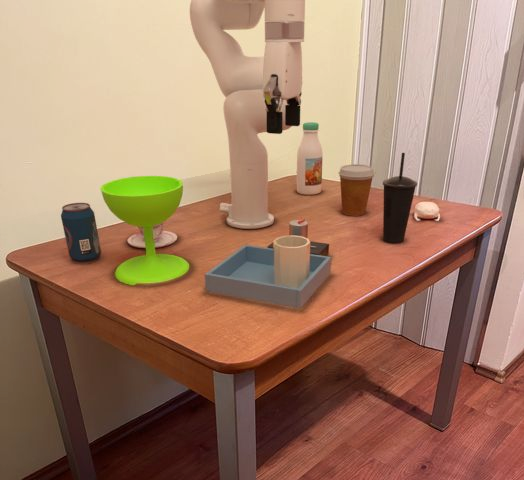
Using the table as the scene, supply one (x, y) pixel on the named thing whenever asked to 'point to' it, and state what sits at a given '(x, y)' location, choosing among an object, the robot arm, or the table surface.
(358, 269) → the table surface
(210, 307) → the table surface
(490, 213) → the table surface
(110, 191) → the wineglass
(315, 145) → the milk bottle
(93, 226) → the soda can
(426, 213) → the frog figurine
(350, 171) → the disposable coffee cup
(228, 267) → the tray
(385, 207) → the drinking cup
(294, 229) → the control knob
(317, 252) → the black dial panel
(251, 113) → the robot arm
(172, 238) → the teacup
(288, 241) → the cup
